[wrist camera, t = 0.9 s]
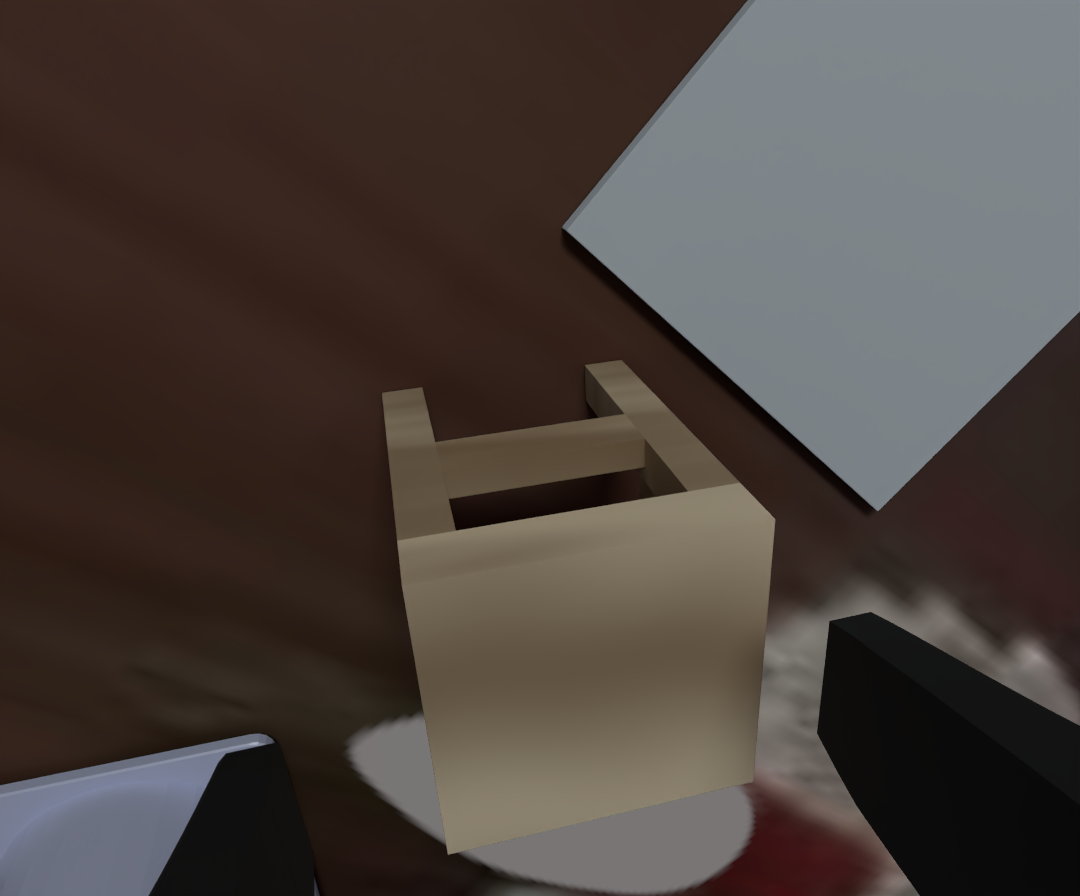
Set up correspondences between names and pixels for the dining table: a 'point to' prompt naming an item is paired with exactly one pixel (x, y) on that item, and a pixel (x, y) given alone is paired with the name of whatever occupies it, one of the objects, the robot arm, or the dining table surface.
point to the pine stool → (580, 616)
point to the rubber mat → (861, 215)
